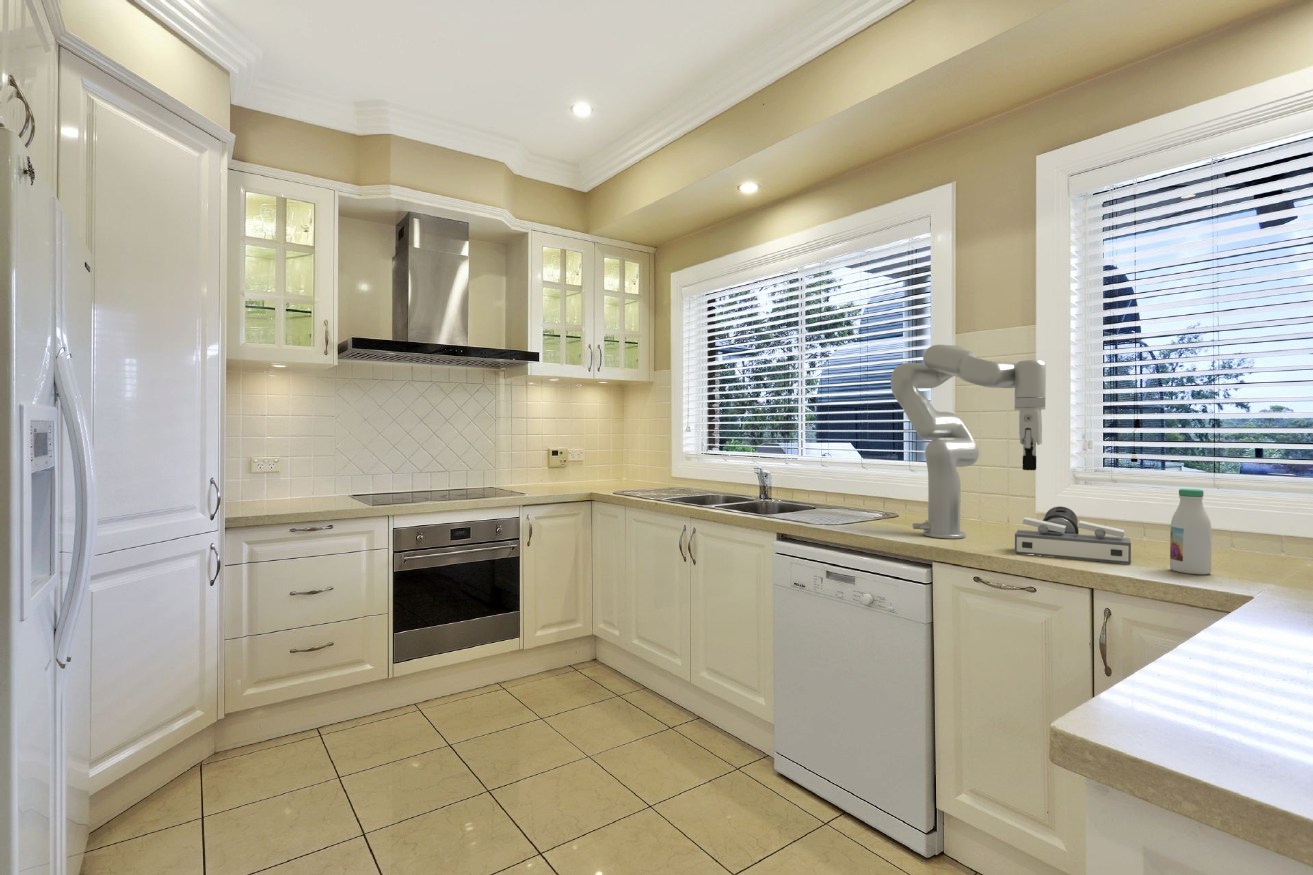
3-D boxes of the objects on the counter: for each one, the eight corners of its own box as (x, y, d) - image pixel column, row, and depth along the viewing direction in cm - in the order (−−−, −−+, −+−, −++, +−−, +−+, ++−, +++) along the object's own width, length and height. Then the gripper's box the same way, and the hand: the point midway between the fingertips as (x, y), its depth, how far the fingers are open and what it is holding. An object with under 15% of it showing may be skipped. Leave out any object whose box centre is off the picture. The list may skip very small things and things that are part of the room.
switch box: (1014, 553, 180) (1014, 534, 180) (1018, 548, 188) (1018, 529, 188) (1130, 564, 166) (1130, 543, 166) (1129, 558, 173) (1129, 538, 173)
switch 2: (1076, 532, 175) (1079, 522, 175) (1077, 530, 179) (1079, 520, 179) (1121, 542, 169) (1124, 532, 169) (1121, 539, 173) (1123, 529, 173)
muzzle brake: (1078, 539, 205) (1078, 506, 204) (1078, 553, 181) (1078, 516, 181) (1043, 536, 210) (1043, 504, 210) (1038, 550, 186) (1038, 514, 186)
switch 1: (1021, 528, 182) (1023, 518, 182) (1023, 526, 186) (1025, 516, 186) (1063, 538, 177) (1065, 528, 176) (1063, 535, 181) (1065, 525, 180)
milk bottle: (1212, 571, 158) (1213, 489, 158) (1210, 576, 152) (1211, 491, 152) (1171, 566, 163) (1172, 487, 163) (1168, 571, 158) (1169, 489, 157)
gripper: (1043, 403, 174) (1043, 472, 175) (1047, 405, 187) (1046, 469, 187) (1011, 404, 179) (1011, 471, 179) (1017, 405, 191) (1017, 468, 191)
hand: (1029, 469), depth 183 cm, fingers closed
